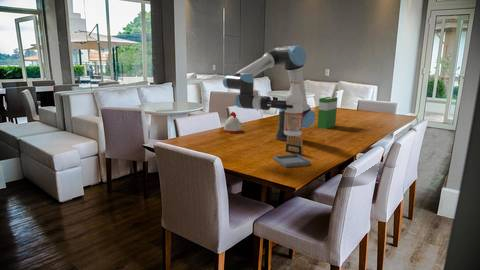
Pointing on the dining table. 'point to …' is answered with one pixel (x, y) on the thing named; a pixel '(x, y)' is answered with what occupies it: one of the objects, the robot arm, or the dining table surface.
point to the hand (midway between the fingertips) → (302, 105)
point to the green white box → (327, 112)
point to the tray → (291, 160)
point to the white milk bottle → (293, 111)
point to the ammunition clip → (294, 145)
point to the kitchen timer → (232, 124)
